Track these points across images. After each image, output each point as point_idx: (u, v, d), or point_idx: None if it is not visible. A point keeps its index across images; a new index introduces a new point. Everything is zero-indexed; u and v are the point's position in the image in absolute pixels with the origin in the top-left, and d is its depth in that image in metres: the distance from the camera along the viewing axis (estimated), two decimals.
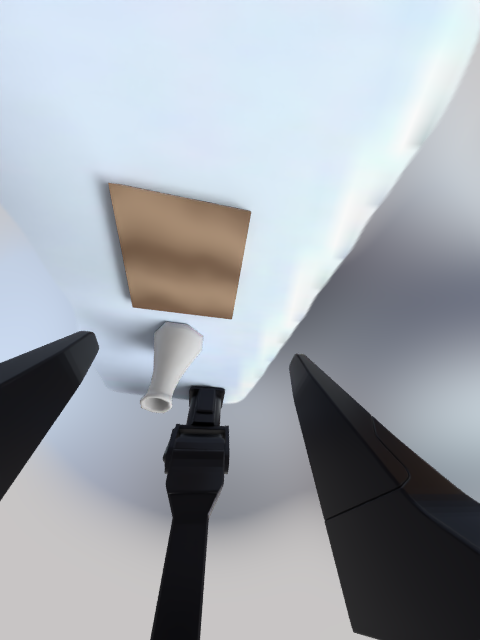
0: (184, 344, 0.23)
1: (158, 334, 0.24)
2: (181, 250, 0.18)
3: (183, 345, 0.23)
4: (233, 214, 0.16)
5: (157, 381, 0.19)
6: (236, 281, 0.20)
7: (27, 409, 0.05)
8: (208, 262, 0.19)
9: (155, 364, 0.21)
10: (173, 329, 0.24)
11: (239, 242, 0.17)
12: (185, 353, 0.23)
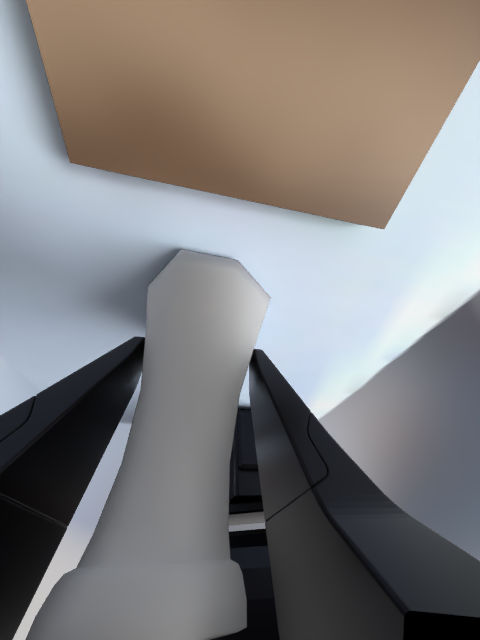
0: (237, 308, 0.08)
1: (160, 282, 0.09)
2: None
3: (235, 309, 0.08)
4: None
5: (157, 458, 0.04)
6: None
7: (101, 413, 0.06)
8: None
9: (149, 368, 0.06)
10: (203, 267, 0.08)
11: None
12: (244, 333, 0.07)
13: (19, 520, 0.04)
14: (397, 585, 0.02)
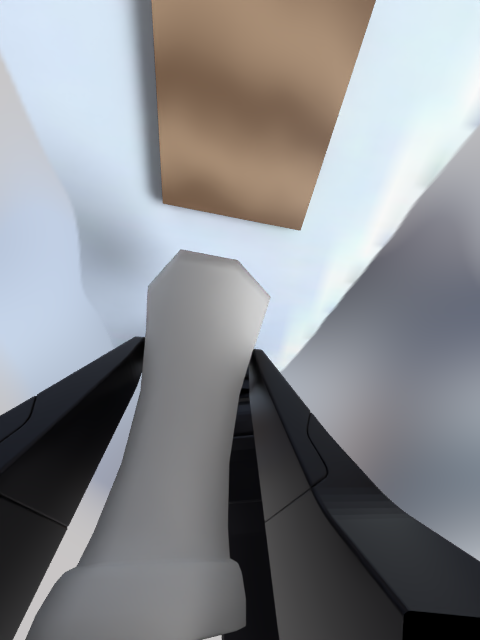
0: (236, 308, 0.08)
1: (160, 282, 0.09)
2: (250, 79, 0.11)
3: (234, 308, 0.08)
4: None
5: (156, 457, 0.04)
6: (322, 153, 0.13)
7: (101, 413, 0.06)
8: (288, 109, 0.12)
9: (148, 368, 0.06)
10: (202, 267, 0.08)
11: (345, 63, 0.11)
12: (243, 333, 0.07)
13: (21, 519, 0.04)
14: (396, 585, 0.02)
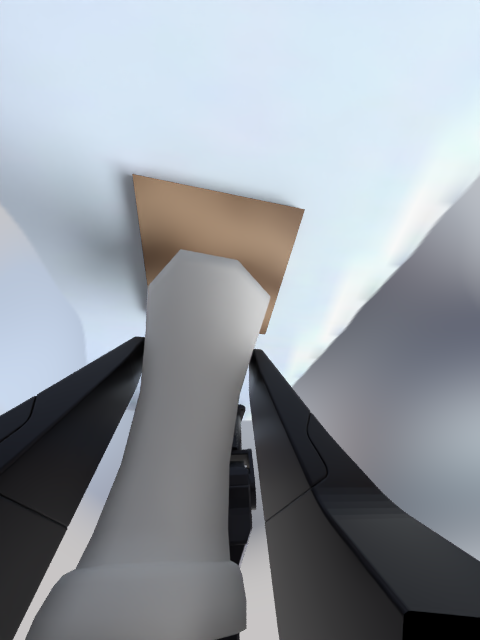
0: (236, 308, 0.08)
1: (160, 282, 0.09)
2: None
3: (234, 308, 0.08)
4: (282, 212, 0.13)
5: (156, 458, 0.04)
6: (275, 292, 0.17)
7: (101, 413, 0.06)
8: None
9: (148, 368, 0.06)
10: (202, 267, 0.08)
11: (285, 246, 0.15)
12: (243, 333, 0.07)
13: (20, 520, 0.04)
14: (395, 583, 0.02)
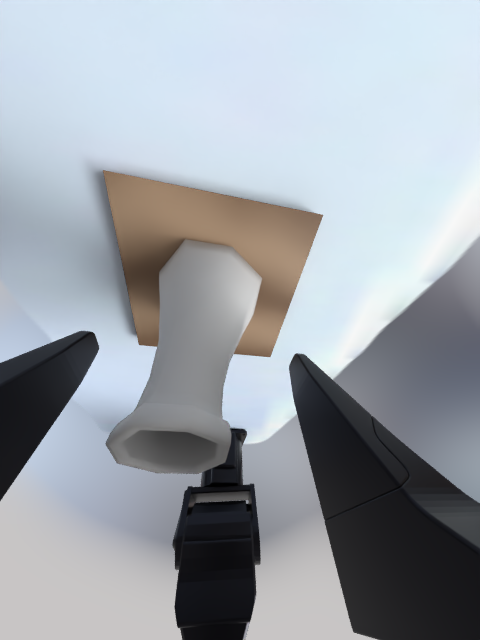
0: (231, 283, 0.10)
1: (169, 266, 0.11)
2: None
3: (229, 283, 0.09)
4: (295, 218, 0.10)
5: (174, 366, 0.06)
6: (284, 311, 0.14)
7: (27, 409, 0.05)
8: None
9: (164, 324, 0.08)
10: (203, 252, 0.10)
11: (297, 259, 0.12)
12: (237, 302, 0.09)
13: None
14: None
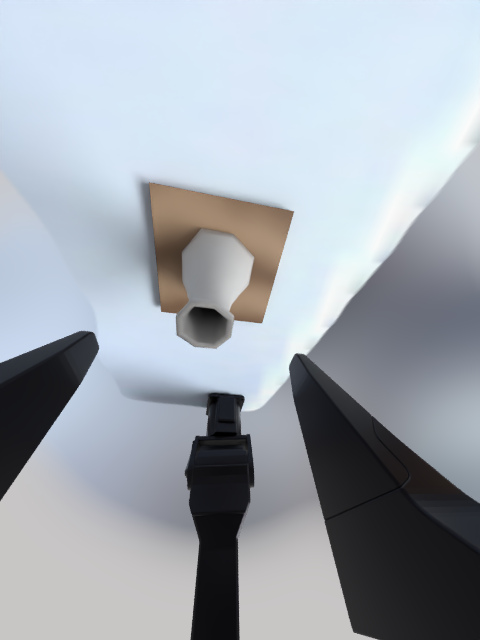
0: (233, 256, 0.14)
1: (190, 246, 0.15)
2: None
3: (231, 256, 0.14)
4: (275, 213, 0.15)
5: (203, 291, 0.11)
6: (270, 284, 0.19)
7: (27, 409, 0.05)
8: None
9: (192, 277, 0.13)
10: (214, 236, 0.15)
11: (278, 243, 0.17)
12: (236, 268, 0.14)
13: None
14: None
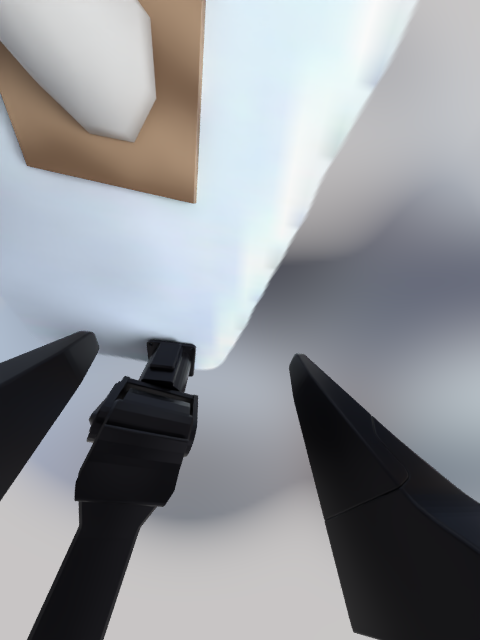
0: None
1: None
2: None
3: None
4: None
5: None
6: (193, 110, 0.12)
7: (27, 409, 0.05)
8: None
9: None
10: None
11: None
12: None
13: None
14: None
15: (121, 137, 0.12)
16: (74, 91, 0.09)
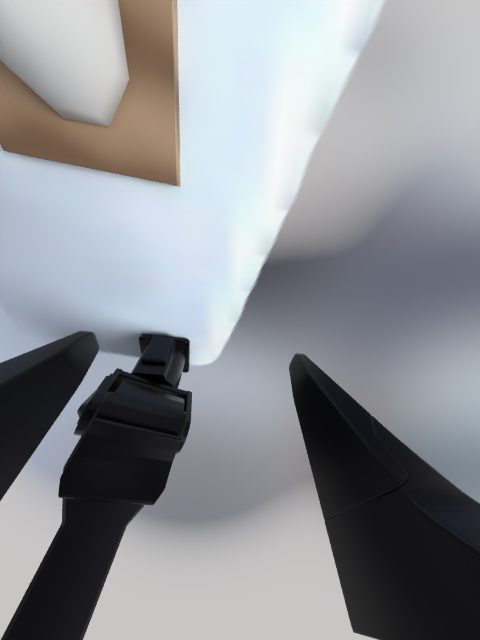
0: None
1: None
2: None
3: None
4: None
5: None
6: (170, 83, 0.11)
7: (27, 409, 0.05)
8: None
9: None
10: None
11: None
12: None
13: None
14: None
15: (96, 121, 0.12)
16: (40, 68, 0.09)
